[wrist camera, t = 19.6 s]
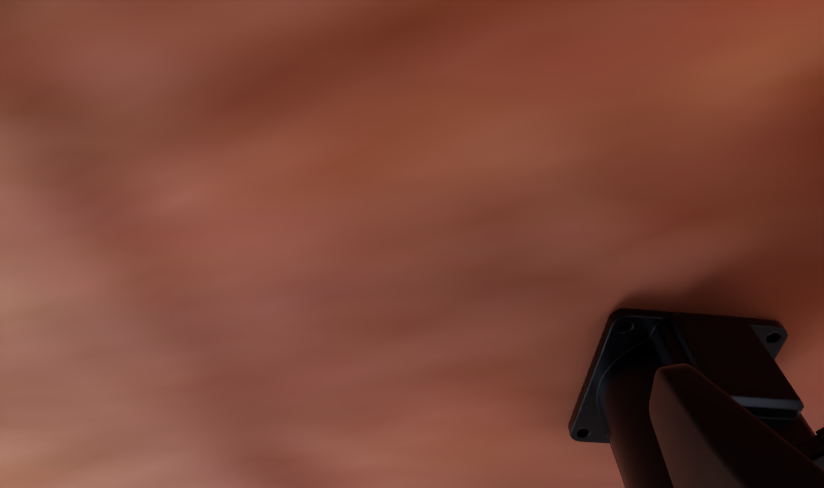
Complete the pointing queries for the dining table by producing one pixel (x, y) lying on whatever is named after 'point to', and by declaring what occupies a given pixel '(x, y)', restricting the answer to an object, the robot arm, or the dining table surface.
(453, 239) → the dining table surface
